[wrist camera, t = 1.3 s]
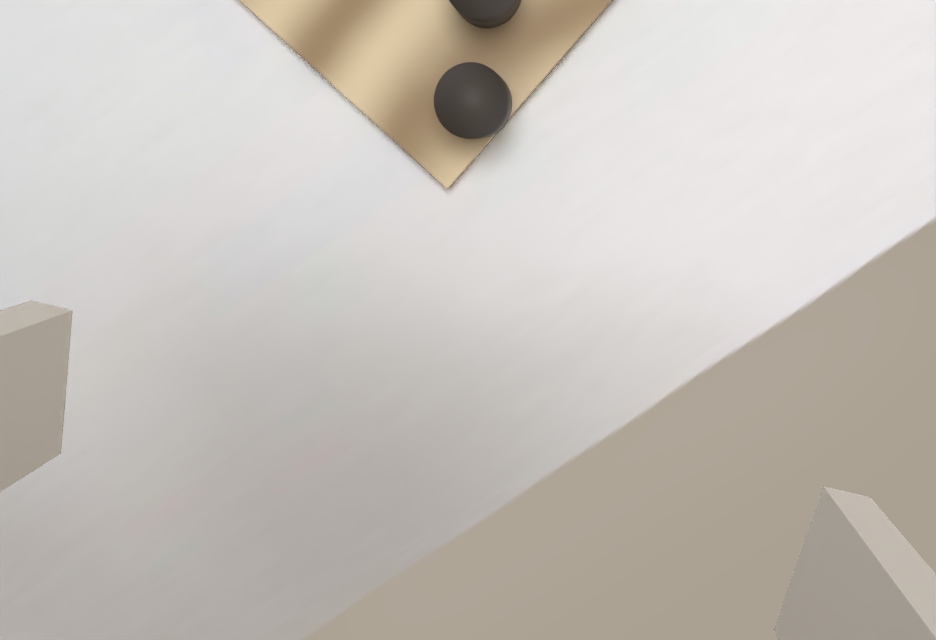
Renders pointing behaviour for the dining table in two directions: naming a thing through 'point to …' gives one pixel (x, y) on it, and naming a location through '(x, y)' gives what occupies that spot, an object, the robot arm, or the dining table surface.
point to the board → (433, 63)
